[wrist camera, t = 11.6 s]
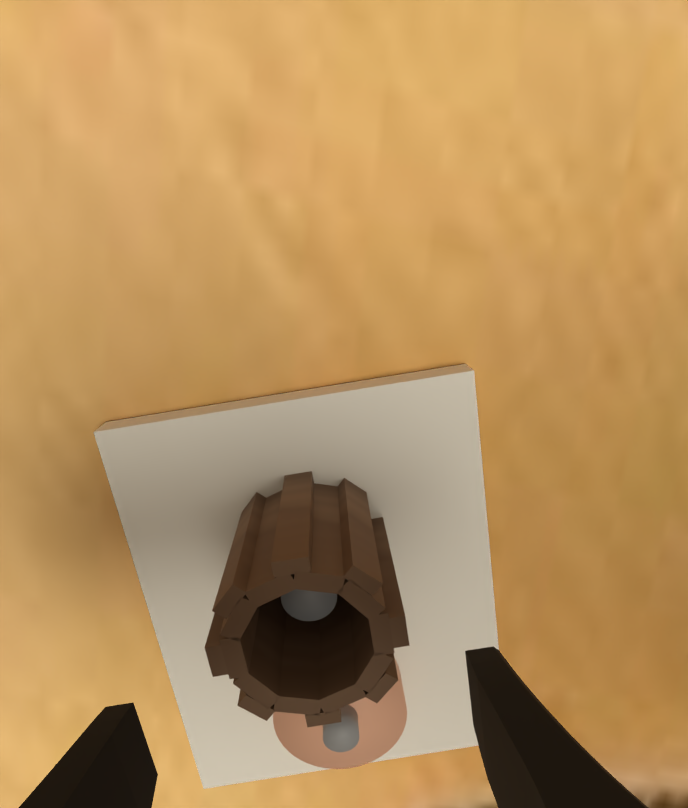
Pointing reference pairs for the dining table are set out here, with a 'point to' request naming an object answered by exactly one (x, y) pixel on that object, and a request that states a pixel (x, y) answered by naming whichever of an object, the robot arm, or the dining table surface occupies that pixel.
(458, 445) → the gear board
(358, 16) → the dining table surface
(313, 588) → the walnut pinion gear
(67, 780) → the robot arm
